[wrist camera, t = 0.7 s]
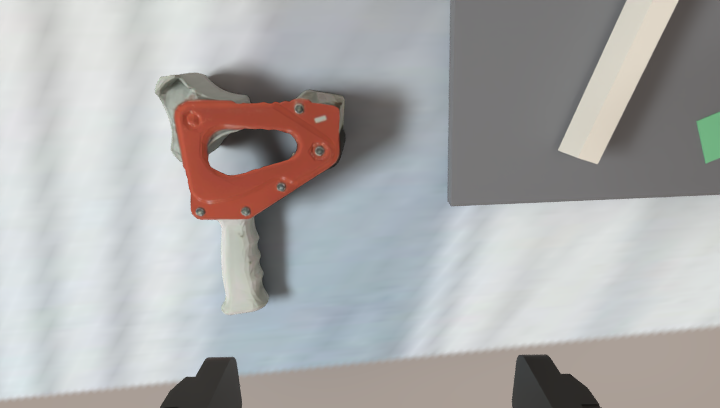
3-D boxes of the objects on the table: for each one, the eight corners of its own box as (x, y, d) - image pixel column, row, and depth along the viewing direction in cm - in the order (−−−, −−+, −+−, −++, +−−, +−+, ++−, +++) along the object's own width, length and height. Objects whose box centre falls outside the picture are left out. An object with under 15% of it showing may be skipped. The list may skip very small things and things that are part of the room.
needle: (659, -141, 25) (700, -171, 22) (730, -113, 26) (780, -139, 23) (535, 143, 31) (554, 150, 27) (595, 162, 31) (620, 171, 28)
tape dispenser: (250, 303, 39) (411, 172, 34) (232, 341, 34) (417, 195, 29) (98, 173, 35) (256, -3, 29) (52, 195, 30) (233, -11, 24)
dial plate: (452, -111, 27) (457, -122, 26) (880, -138, 27) (911, -151, 25) (447, 200, 34) (451, 206, 32) (790, 185, 33) (811, 190, 32)
